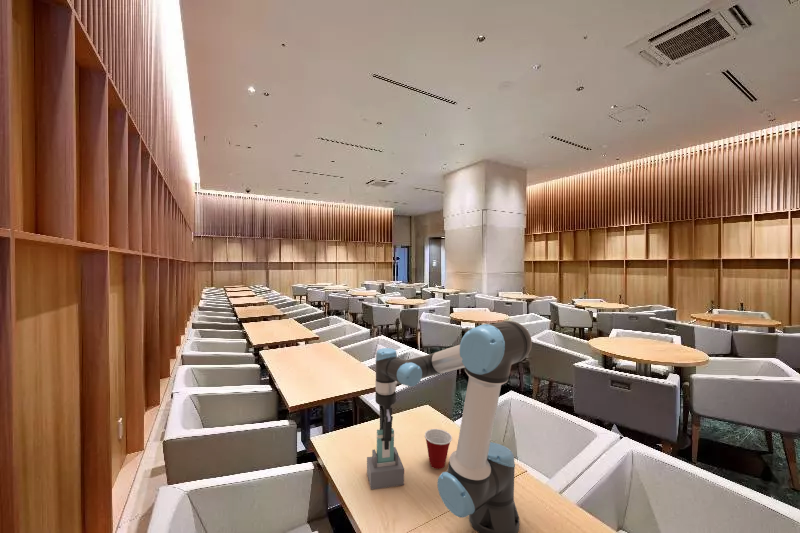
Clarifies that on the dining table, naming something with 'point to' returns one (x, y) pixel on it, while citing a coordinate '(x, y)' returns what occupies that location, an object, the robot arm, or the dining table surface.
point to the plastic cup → (437, 447)
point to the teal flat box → (379, 447)
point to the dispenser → (385, 472)
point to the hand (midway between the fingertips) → (385, 454)
